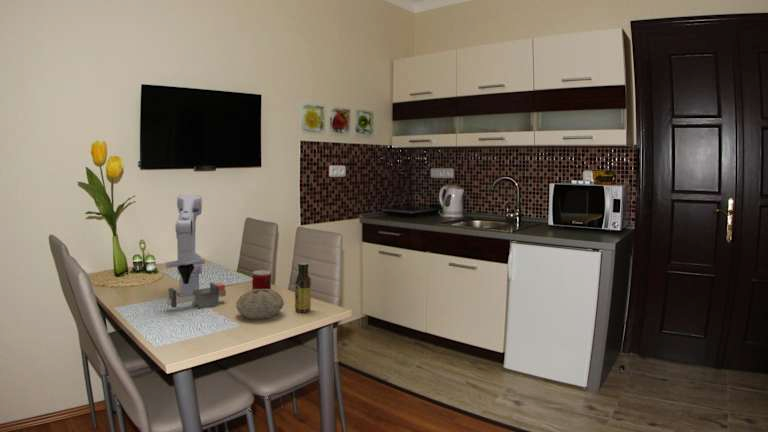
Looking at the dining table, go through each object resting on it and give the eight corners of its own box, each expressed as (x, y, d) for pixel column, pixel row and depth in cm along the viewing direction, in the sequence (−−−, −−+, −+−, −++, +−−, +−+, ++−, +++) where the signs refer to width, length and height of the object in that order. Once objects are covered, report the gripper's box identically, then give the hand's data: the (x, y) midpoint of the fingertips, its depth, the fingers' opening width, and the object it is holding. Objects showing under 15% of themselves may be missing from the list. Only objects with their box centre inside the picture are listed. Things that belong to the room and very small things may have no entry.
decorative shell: (227, 315, 187) (227, 290, 185) (265, 305, 200) (265, 282, 199) (254, 326, 175) (254, 300, 174) (293, 315, 189) (293, 290, 188)
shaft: (165, 305, 190) (165, 289, 190) (222, 295, 205) (222, 280, 205) (169, 308, 187) (169, 291, 186) (227, 298, 202) (226, 283, 201)
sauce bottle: (295, 308, 197) (296, 261, 195) (311, 308, 198) (311, 261, 196) (294, 313, 191) (294, 264, 188) (310, 313, 191) (310, 264, 189)
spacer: (214, 289, 202) (213, 283, 202) (221, 288, 204) (220, 282, 204) (217, 292, 199) (217, 286, 199) (224, 291, 201) (224, 284, 201)
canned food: (266, 299, 208) (267, 275, 207) (249, 298, 209) (249, 273, 208) (273, 294, 216) (273, 270, 215) (256, 293, 217) (256, 269, 216)
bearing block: (192, 304, 199) (192, 285, 198) (212, 301, 204) (211, 282, 203) (199, 308, 193) (198, 288, 192) (218, 305, 199) (218, 285, 198)
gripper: (169, 253, 183) (170, 288, 185) (207, 249, 192) (207, 282, 194) (163, 250, 188) (164, 284, 190) (200, 247, 198) (201, 279, 199)
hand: (185, 283), depth 192 cm, fingers closed
